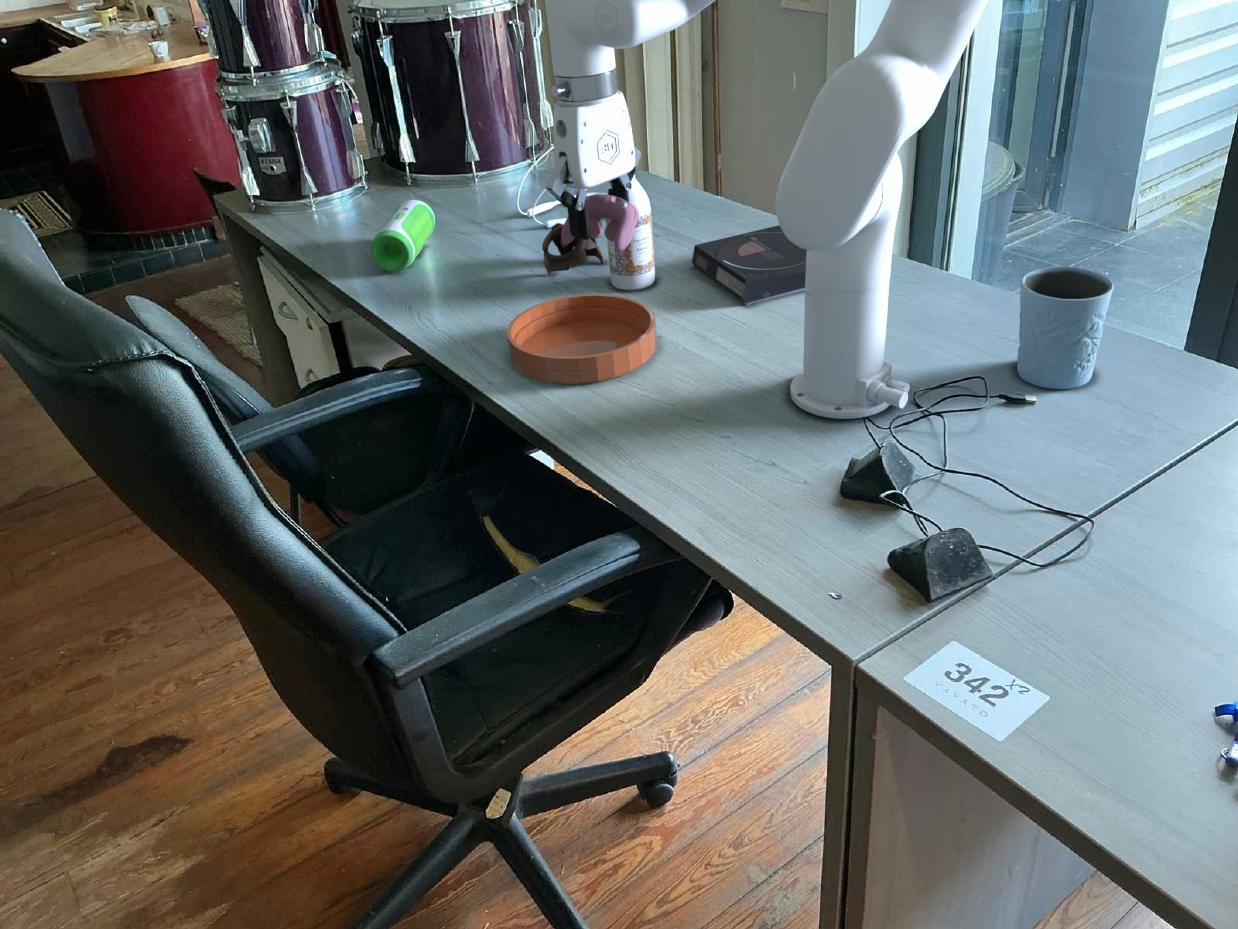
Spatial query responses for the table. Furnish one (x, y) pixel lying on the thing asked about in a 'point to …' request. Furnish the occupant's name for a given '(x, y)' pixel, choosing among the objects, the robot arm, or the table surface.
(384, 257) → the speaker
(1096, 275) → the embossed flower pot
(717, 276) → the portable cd player
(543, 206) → the earphone
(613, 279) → the bath foam
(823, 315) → the robot arm
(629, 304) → the catchall bowl
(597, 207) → the video game controller
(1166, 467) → the table surface
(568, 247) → the brown ring bracket
